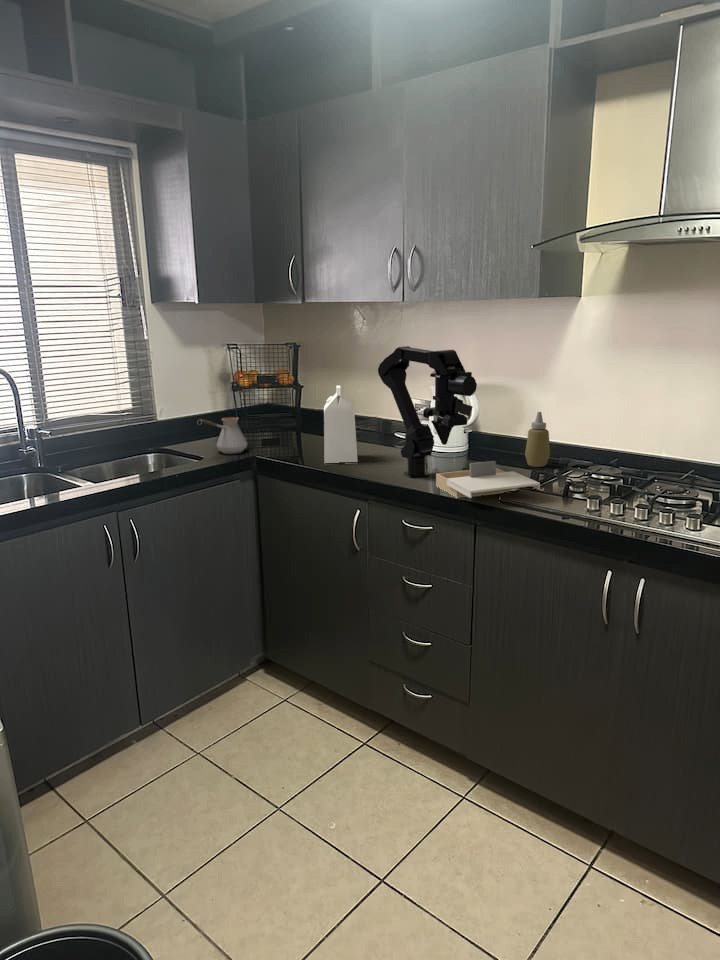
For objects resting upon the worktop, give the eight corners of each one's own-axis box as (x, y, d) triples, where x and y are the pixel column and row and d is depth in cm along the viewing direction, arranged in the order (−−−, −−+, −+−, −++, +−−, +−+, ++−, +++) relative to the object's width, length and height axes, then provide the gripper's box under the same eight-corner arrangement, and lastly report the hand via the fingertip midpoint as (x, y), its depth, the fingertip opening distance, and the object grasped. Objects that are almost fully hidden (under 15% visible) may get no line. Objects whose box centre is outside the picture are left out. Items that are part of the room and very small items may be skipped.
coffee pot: (232, 447, 269) (229, 409, 265) (254, 450, 262) (251, 411, 259) (190, 458, 252) (187, 418, 248) (213, 462, 245) (209, 420, 242)
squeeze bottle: (543, 462, 235) (546, 409, 230) (553, 467, 227) (556, 413, 222) (520, 463, 233) (522, 410, 229) (530, 468, 226) (532, 414, 221)
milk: (357, 463, 239) (355, 388, 233) (324, 464, 239) (321, 389, 232) (355, 455, 251) (354, 384, 244) (324, 456, 250) (321, 384, 244)
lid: (446, 485, 198) (447, 465, 197) (512, 477, 205) (513, 458, 203) (470, 498, 185) (470, 476, 183) (539, 489, 191) (540, 468, 190)
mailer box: (436, 486, 207) (436, 473, 206) (494, 479, 213) (495, 467, 212) (456, 498, 194) (457, 484, 193) (518, 491, 200) (519, 477, 199)
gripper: (484, 395, 198) (482, 448, 202) (455, 387, 215) (454, 436, 219) (449, 397, 195) (448, 451, 199) (422, 390, 212) (422, 439, 216)
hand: (444, 444), depth 208 cm, fingers closed
